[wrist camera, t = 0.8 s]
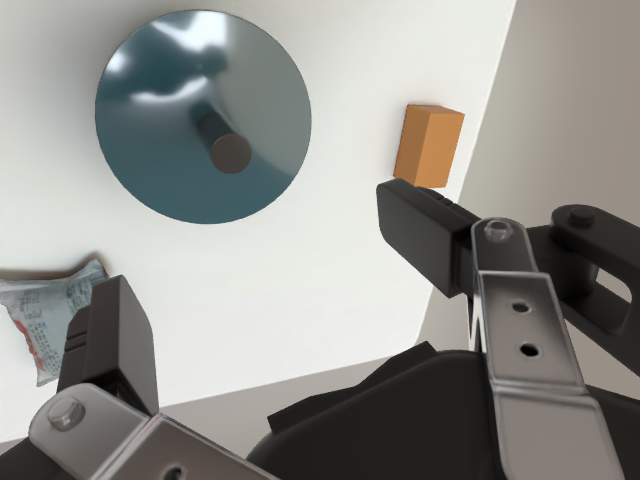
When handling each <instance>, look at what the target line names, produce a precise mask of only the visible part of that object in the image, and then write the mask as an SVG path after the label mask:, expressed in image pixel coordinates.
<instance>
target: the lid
mask: <svg viewBox="0 0 640 480" xmlns="http://www.w3.org/2000/svg"><path fill="white" fill-rule="evenodd" d="M95 123H96V131H97V136H98V140H99V143H100V147H101V150H102V152H103V154H104V157H105V159H106V162H107V163H108V165H109V167H110V168H111V170H112V172H113V173H114V175H115V176H116V178H117V179H118V180H119V181H120V183H121V184H122V185H123V186H124V187H125V188H126V189H127V190H128V191H129V192H130V193H131V194H132V195H133V196H134V197H135V198H136V199H138V200H139V201H140V202H142V203H143V204H144V205H146V206H147V207H149V208H151V209H153V210H154V211H156V212H158V213H160V214H163V215H165V216H167V217H170V218H173V219H176V220H180V221H184V222H189V223H195V224H220V223H226V222H232V221H235V220H239V219H242V218H245V217H247V216H250V215H252V214H254V213H256V212H258V211H260V210H261V209H263V208H265V207H266V206H268V205H269V204H270V203H272V202H273V201H274V200H276V199H277V198H278V197H279V196H280V195H281V194H282V193H283V192H284V191H285V190H286V189H287V187H288V186H289V185H290V184H291V182H292V181H293V179H294V178H295V176H296V175H297V173H298V171H299V169H300V168H301V166H302V164H303V161H304V158H305V156H306V153H307V150H308V145H309V141H310V134H311V108H310V101H309V97H308V93H307V89H306V86H305V84H304V81H303V78H302V76H301V74H300V72H299V70H298V68H297V66H296V64H295V63H294V62H293V60H292V59H291V57H290V56H289V54H288V53H287V52H286V51H285V50H284V48H283V47H282V46H281V45H280V44H279V43H278V42H277V41H276V40H275V39H274V38H272V37H271V36H270V35H269V34H268V33H267V32H265V31H264V30H262V29H261V28H259V27H257V26H256V25H254V24H253V23H251V22H248V21H246V20H244V19H242V18H240V17H237V16H234V15H231V14H227V13H224V12H218V11H212V10H185V11H178V12H173V13H170V14H167V15H163V16H160V17H158V18H156V19H154V20H152V21H149V22H147V23H145V24H144V25H142V26H141V27H140V28H138V29H137V30H135V31H134V32H132V33H131V34H130V35H129V36H128V37H127V38H126V39H125V40H124V41H123V42H122V43H121V44H120V45H119V46H118V48H117V49H116V50H115V52H114V53H113V54H112V56H111V57H110V59H109V61H108V63H107V65H106V67H105V69H104V71H103V73H102V76H101V79H100V82H99V85H98V90H97V95H96V101H95Z"/></svg>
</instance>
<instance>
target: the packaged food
mask: <svg viewBox="0 0 640 480" xmlns="http://www.w3.org/2000/svg"><path fill="white" fill-rule="evenodd" d="M107 279H109V276H108V274H107V273H106V271H105V269H104V267H103V266H102V265H101V263H100V262H99V261H98V260H97V259H92V260H90V261H89V262H88V263H87V264H86V266H85V267H84V268H83V269H81V270H80V271H78V272H77V273H75V274H73V275H71V276H68V277H66V278H61V279H53V280H27V281H8V280H5V279H0V303H1V304H3V305H4V306H6V307H7V310H8V313H9V315H10V317H11V319H12V320H13V322H14V323H15V325H16V327H17V328H18V329H19V330H20V331H21V332H22V333H23V334H24V336H25V337H26V342H27V344H28V346H29V351H30V353H31V354H32V355H33V357H34V360H35V364H36V367H37V373H38V378H37V387H41V386H43V385H45V384H47V383H48V382H50V381H53V380H56V379H57V378H59V375H60V370H61V364H62V358H63V354H64V353H65V352H64V347H65V341H67V340H66V335H67V330H68V324H69V323H70V321H71V320H72V318H73V317H74V315H75V314H76V312H77V311H78V309H80V308H82V307H85V306H88V305H90V302H91V294H92V286H93V285H94V284H96V283H99V282H102V281H104V280H107Z"/></svg>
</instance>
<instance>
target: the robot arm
mask: <svg viewBox="0 0 640 480" xmlns="http://www.w3.org/2000/svg"><path fill="white" fill-rule="evenodd" d="M376 195H377V206H378V217H379V227H380V231H381V233H382V236H383V238H384V239H385V241H386V242H387V243H388V244H389V245H390V246H391V247H392V248H393V249H395V250H396V251H397V252H398V253H399V254H400V255H401V256H402V257H403V258H405V259H406V260H407V261H408V262H409V263H410V264H411V265H412V266H413V267H414V268H416V269H417V270H418V271H419V272H420V273H421V274H422V275H423V276H424V277H425V278H427V279H428V280H429V281H430V282H431V283H432V284H433V285H434V286H436V287H437V288H438V289H439V290H440V291H441V292H442V293H443V294H444V295H445V296H446V297H448V298H452V297H454V296H456V295H458V294H461V293H464V294H466V295H467V301H466V309H467V325H468V340H469V350H443V351H436V350H435V349H434V348H433V347H432V346H431V345H430V344H429V342H428V341H425V342H423V343H421V344H419V345H417V346H414V347H412V348H410V349H408V350H406V351H404V352H402V353H400V354H398V355H396V356H393V357H392V358H390V359H389V360H387V361H386V362H385V363H384V364H383V365H381V366H380V367H379V368H378V369H377V370H375V371H374V372H373V373H372V374H371V375H369V376H368V377H367V378H366V379H365V380H363V381H362V382H361V383H360V384H358V385H356V386H354V387H350V388H346V389H341V390H337V391H332V392H328V393H324V394H319V395H315V396H310V397H308V398H306V399H304V400H301V401H299V402H297V403H295V404H293V405H291V406H289V407H287V408H285V409H283V410H280V411H278V412H276V413H274V414H272V415H270V416H268V417H267V418H268V422H269V424H270V427H271V430H272V431H271V432H270V433H268V434H267V435H266V436H265V437H264V438H263V439H262V440H261V441H260V442H259V443H258V444H257V445H256V446H255V447H254V448H253V449H252V451H251V452H250V453H249V454H248V456H247V457H246V459H243V458H241V457H239V456H238V455H236V454H234V453H232V452H231V451H229V450H227V449H225V448H223V447H222V446H220V445H218V444H216V443H214V442H213V441H211V440H209V439H207V438H206V437H204V436H202V435H200V434H199V433H197V432H195V431H193V430H192V429H190V428H188V427H186V426H184V425H183V424H181V423H179V422H177V421H176V420H174V419H172V418H170V417H168V416H166V415H165V414H162V413H160V412H159V404H158V392H157V380H156V368H155V357H154V345H153V334H152V329H151V326H150V323H149V320H148V318H147V316H146V314H145V312H144V310H143V308H142V306H141V305H140V303H139V301H138V299H137V298H136V296H135V294H134V292H133V290H132V289H131V287H130V285H129V283H128V282H127V280H126V278H125V277H124V276H123V275H119V276H116V277H113V278H110V279H107V280H104V281H102V282H99V283H96V284H94V285H93V286H92V294H91V302H90V305H88V306H85V307H82V308H80V309H78V311H77V312H76V314H75V315H74V317H73V318H72V320H71V321H70V323H69V324H68V330H67V335H66V340H67V341H65V347H64V352H65V353H64V354H63V358H62V364H61V370H60V375H59V381H58V387H57V392H56V395H54V396H53V397H52V398H51V399H49V400H48V401H47V402H46V403H45V404H44V405H43V406H42V407H41V408H40V409H39V410H38V412H37V413H36V415H35V416H34V418H33V420H32V421H31V424H30V427H29V432H28V434H29V436H28V437H27V438H26V439H24V440H23V441H21V442H20V443H19V444H17V445H16V446H14V447H13V448H11V449H10V450H8V451H7V452H5V453H4V454H2V455H1V456H0V480H640V400H637V399H633V398H630V397H627V396H623V395H620V394H617V393H614V392H610V391H607V390H603V389H600V388H597V387H593V386H590V385H587V384H585V383H584V380H583V376H582V373H581V370H580V367H579V364H578V361H577V358H576V355H575V351H574V348H573V345H572V342H571V339H570V336H569V333H568V330H567V327H566V323H565V320H564V318H565V319H566V320H567V321H569V322H570V323H571V324H572V325H573V326H575V327H576V328H577V329H579V330H580V331H581V332H582V333H584V334H585V335H586V336H588V337H589V338H590V339H591V340H593V341H594V342H595V343H597V344H598V345H599V346H600V347H602V348H603V349H604V350H605V351H607V352H608V353H609V354H611V355H612V356H613V357H614V358H616V359H617V360H618V361H620V362H621V363H622V364H624V365H625V366H626V367H627V368H628V369H630V370H631V371H633V372H634V373H635V374H636V375H637V376H639V377H640V228H639V227H637V226H635V225H633V224H631V223H629V222H627V221H625V220H622V219H620V218H618V217H616V216H614V215H612V214H610V213H608V212H606V211H603V210H601V209H599V208H596V207H592V206H588V205H578V204H575V205H565V206H561V207H559V208H557V209H555V210H554V211H553V213H552V216H551V222H550V225H544V226H538V227H531V228H525V227H524V226H523V225H522V224H520V223H518V222H516V221H514V220H511V219H507V218H500V217H492V218H486V219H481V218H479V217H477V216H476V215H474V214H472V213H471V212H469V211H467V210H466V209H464V208H462V207H461V206H459V205H457V204H456V203H454V204H453V202H452V201H451V200H449V199H447V198H444V196H442V195H441V194H439V193H437V192H436V191H434V190H431V189H428V188H424V187H420V186H417V187H415V186H414V185H412V184H410V183H409V182H407V181H406V180H404V179H402V178H400V177H399V178H396V179H393V180H390V181H387V182H384V183H381V184H379V185H378V186H377V189H376ZM599 268H601V269H603V270H605V271H606V272H608V273H609V274H611V275H613V276H614V277H616V278H618V279H620V280H621V281H622V282H624V283H625V284H626V285H627V286H628V288H629V289H630V291H631V294H632V301H631V304H630V303H629V302H627V301H626V300H624V299H623V298H621V297H619V296H618V295H616V294H615V293H613V292H612V291H610V290H609V289H607V288H605V287H604V286H602V285H601V284H599V283H598V282H596V278H597V275H598V271H599Z"/></svg>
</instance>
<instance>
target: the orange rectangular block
mask: <svg viewBox="0 0 640 480" xmlns="http://www.w3.org/2000/svg"><path fill="white" fill-rule="evenodd" d="M464 116H465V114H463V113H460V112H457V111H454V110H451V109H447V108H444V107H441V106H421V105H408V107H407V112H406V117H405V122H404V127H403V132H402V137H401V142H400V147H399V152H398V157H397V162H396V167H395V172H394V177H395V178H399V177H400V178H402V179H404V180H406V181H407V182H409V183H410V184H412V185H414V186H415V187H417V186H420V187H424V188H441V187H446V183H447V179H448V176H449V172H450V168H451V164H452V161H453V157H454V153H455V150H456V146H457V142H458V138H459V135H460V131H461V127H462V123H463V120H464Z"/></svg>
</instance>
